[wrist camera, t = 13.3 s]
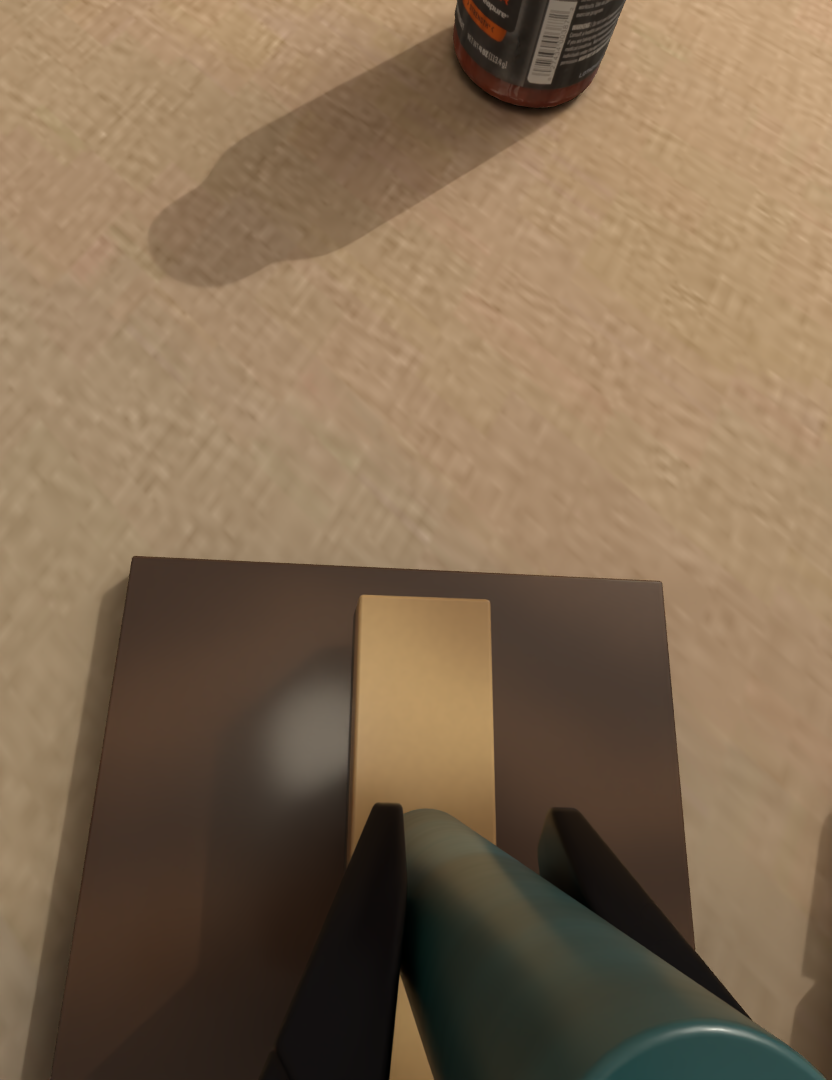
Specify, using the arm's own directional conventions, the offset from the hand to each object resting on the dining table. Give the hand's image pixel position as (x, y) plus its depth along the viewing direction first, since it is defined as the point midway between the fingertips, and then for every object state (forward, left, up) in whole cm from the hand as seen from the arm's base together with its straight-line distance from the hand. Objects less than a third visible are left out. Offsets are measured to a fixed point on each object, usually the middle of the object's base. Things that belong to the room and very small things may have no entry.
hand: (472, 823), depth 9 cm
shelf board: (-1, +1, -8) cm, 8 cm away
